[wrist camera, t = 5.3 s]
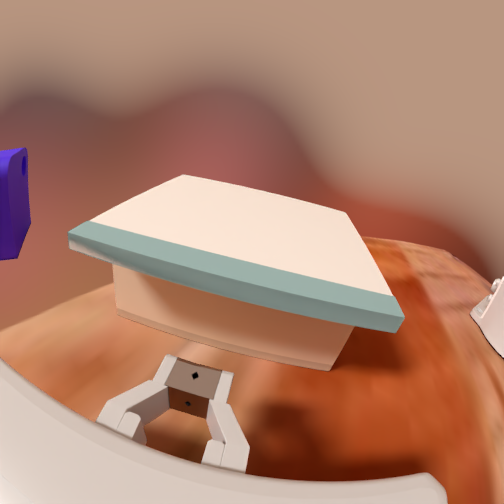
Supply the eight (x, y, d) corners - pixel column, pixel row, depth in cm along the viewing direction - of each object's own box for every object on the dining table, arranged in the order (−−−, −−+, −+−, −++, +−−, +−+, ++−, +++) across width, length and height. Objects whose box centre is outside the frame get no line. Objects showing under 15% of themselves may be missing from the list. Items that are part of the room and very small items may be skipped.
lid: (181, 183, 31) (183, 174, 30) (343, 221, 30) (346, 212, 29) (69, 248, 13) (67, 231, 13) (395, 333, 13) (404, 317, 12)
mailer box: (179, 244, 34) (186, 185, 31) (318, 278, 33) (338, 221, 30) (117, 314, 20) (111, 229, 17) (328, 371, 20) (370, 293, 16)
